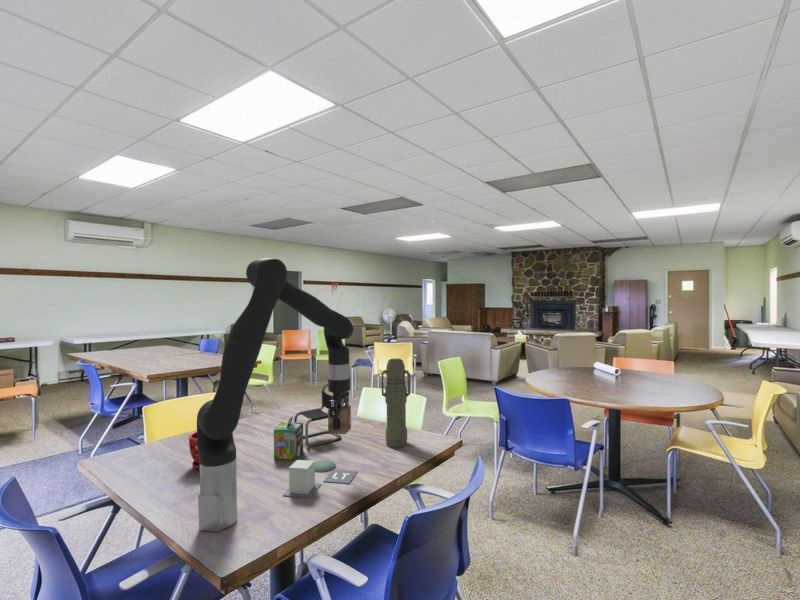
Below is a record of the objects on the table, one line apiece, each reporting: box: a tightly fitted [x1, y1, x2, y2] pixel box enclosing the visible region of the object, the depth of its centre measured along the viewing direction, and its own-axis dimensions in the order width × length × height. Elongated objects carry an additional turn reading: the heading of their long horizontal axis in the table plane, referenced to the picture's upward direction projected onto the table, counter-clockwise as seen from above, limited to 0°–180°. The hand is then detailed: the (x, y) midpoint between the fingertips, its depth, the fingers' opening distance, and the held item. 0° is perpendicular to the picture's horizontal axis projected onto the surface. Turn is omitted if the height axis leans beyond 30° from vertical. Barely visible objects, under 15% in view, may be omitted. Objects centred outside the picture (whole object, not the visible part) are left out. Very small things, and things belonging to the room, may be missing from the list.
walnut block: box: [327, 404, 352, 435], centre depth 141 cm, size 6×6×8 cm
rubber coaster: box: [315, 460, 337, 473], centre depth 150 cm, size 9×9×1 cm
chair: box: [293, 383, 342, 448], centre depth 177 cm, size 13×17×22 cm
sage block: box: [288, 459, 316, 494], centre depth 132 cm, size 6×6×8 cm
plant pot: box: [188, 431, 200, 471], centre depth 152 cm, size 13×13×12 cm
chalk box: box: [273, 415, 304, 461], centre depth 161 cm, size 9×9×15 cm
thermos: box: [380, 357, 411, 449], centre depth 171 cm, size 9×12×35 cm
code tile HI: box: [282, 482, 322, 499], centre depth 132 cm, size 9×9×1 cm
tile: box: [322, 469, 358, 485], centre depth 141 cm, size 9×9×1 cm
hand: (339, 425), depth 141 cm, fingers closed on walnut block, 6 cm apart
